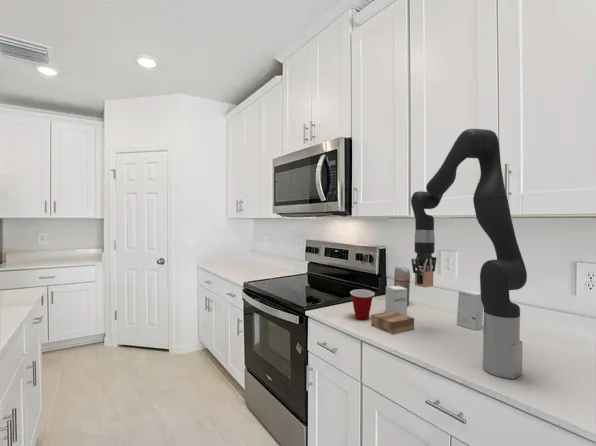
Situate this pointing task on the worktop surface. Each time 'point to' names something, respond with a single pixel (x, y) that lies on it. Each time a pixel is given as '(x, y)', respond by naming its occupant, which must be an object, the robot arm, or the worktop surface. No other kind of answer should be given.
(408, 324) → the walnut box
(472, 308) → the skincare box
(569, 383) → the worktop surface
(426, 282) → the terracotta block
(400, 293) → the supplement box
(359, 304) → the plastic cup
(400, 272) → the spray can
